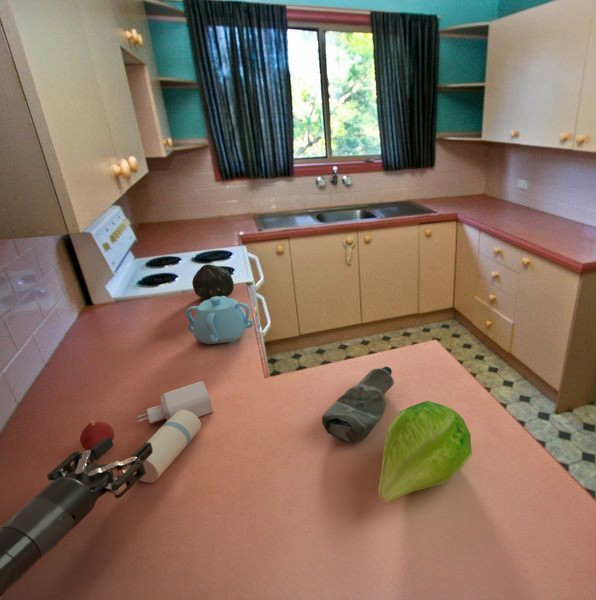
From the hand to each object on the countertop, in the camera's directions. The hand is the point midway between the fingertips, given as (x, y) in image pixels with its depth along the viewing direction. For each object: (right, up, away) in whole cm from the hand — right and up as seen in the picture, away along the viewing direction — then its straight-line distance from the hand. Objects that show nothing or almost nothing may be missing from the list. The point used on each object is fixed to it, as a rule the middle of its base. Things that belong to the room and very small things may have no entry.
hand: (130, 443), depth 79 cm
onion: (-13, -6, +11) cm, 18 cm away
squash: (-22, +28, +88) cm, 95 cm away
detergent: (+42, 0, +21) cm, 47 cm away
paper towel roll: (+1, -6, +1) cm, 6 cm away
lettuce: (+55, -8, +2) cm, 55 cm away
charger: (-2, -1, +21) cm, 22 cm away
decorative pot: (-6, +15, +57) cm, 60 cm away
